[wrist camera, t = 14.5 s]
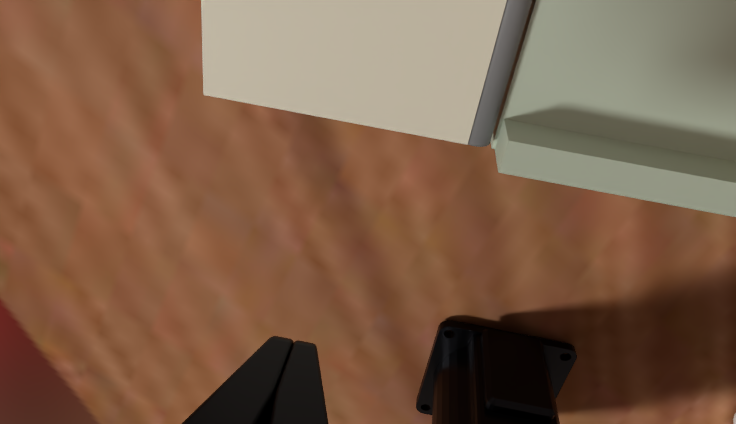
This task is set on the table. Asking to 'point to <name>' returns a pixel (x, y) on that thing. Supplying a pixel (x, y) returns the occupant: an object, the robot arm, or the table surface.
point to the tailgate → (368, 60)
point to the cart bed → (626, 100)
